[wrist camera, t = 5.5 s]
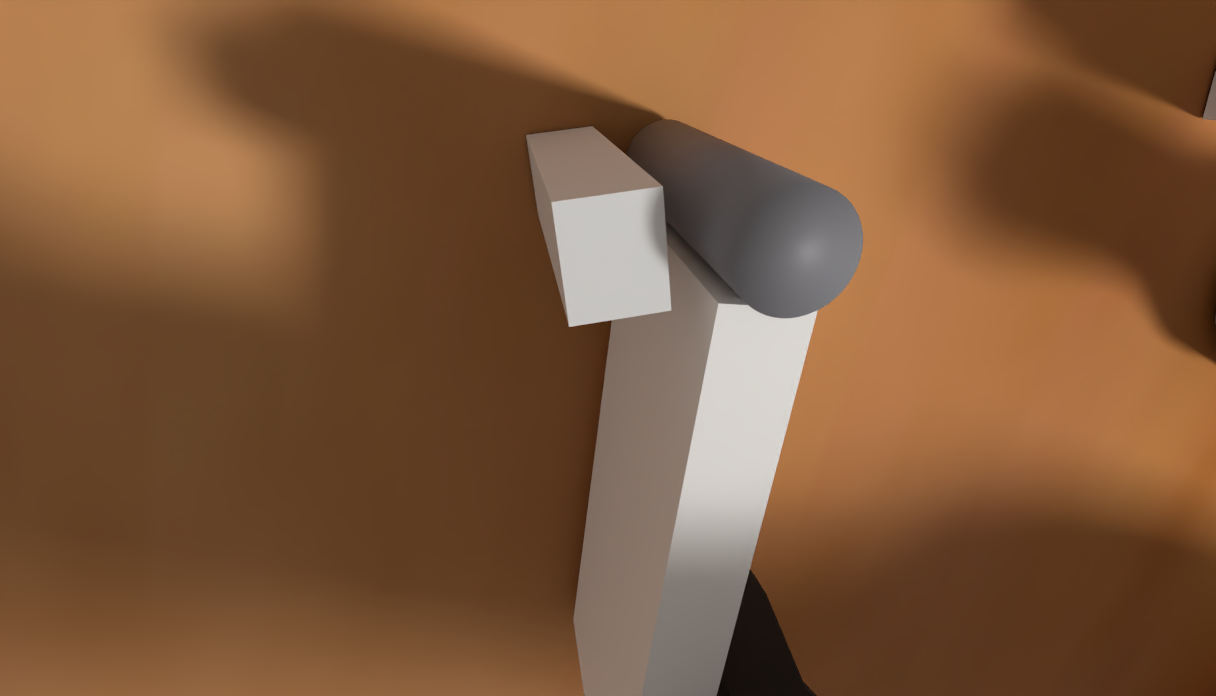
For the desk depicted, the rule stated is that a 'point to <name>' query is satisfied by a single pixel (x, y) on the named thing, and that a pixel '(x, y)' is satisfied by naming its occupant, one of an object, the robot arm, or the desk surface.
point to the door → (701, 410)
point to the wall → (610, 224)
